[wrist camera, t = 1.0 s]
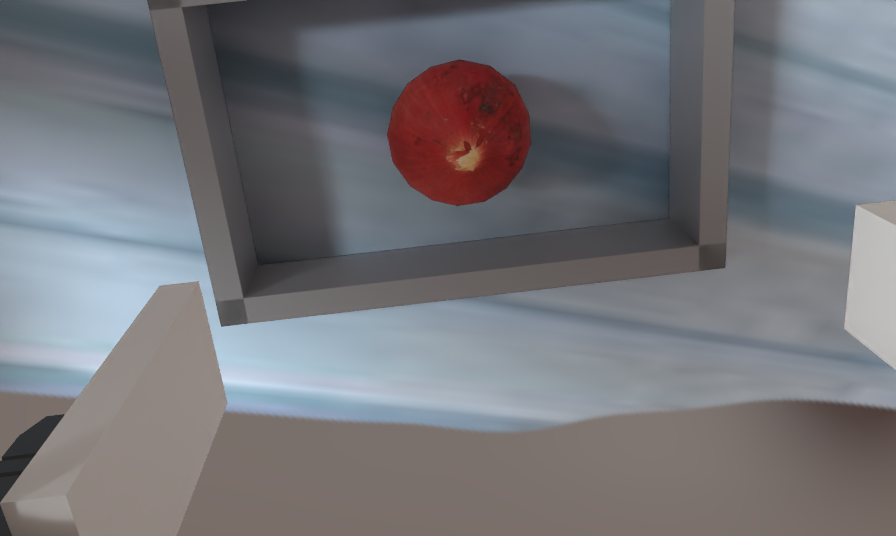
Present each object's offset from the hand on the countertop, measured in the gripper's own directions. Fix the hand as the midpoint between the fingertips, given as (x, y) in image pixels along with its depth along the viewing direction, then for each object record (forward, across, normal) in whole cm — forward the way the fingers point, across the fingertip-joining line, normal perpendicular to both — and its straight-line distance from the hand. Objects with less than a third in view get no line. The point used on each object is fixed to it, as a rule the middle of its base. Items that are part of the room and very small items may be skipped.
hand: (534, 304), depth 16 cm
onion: (+22, 0, 0) cm, 22 cm away
